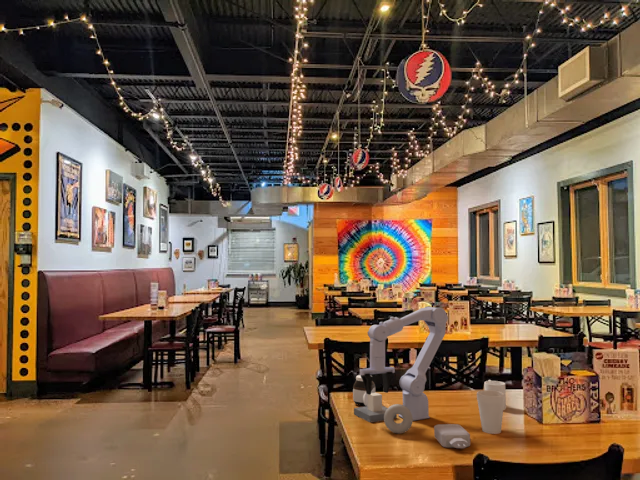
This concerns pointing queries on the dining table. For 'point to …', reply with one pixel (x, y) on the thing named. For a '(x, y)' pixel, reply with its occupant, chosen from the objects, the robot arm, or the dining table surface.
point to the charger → (452, 435)
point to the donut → (393, 425)
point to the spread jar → (361, 392)
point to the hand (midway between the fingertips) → (377, 393)
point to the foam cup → (491, 410)
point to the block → (375, 402)
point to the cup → (496, 388)
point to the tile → (371, 414)
